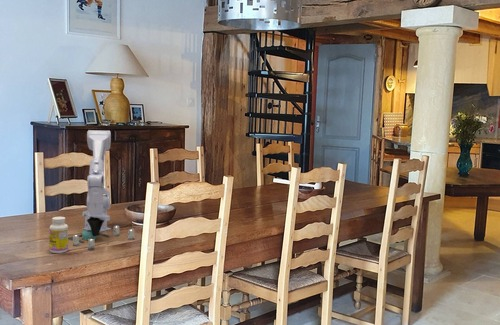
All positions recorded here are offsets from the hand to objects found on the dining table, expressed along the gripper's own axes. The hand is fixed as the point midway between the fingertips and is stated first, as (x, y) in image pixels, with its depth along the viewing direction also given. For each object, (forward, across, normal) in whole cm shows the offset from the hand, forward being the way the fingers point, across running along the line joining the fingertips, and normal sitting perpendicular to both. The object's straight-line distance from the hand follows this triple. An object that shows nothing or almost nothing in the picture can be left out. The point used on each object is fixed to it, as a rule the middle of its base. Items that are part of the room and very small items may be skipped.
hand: (95, 235), depth 220 cm
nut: (+2, -4, 0) cm, 4 cm away
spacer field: (+2, +5, 0) cm, 5 cm away
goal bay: (+2, -4, 0) cm, 5 cm away
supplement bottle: (+2, +3, -20) cm, 20 cm away
